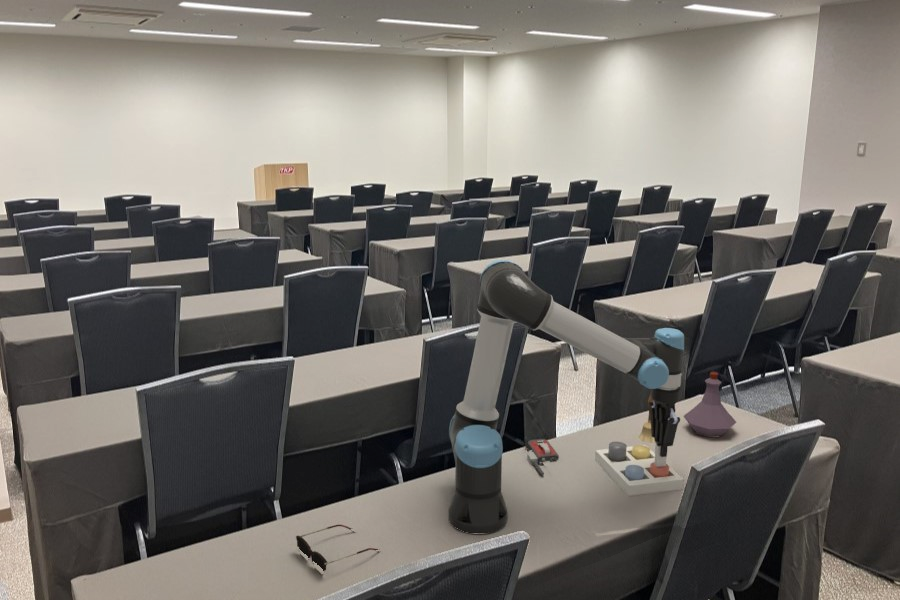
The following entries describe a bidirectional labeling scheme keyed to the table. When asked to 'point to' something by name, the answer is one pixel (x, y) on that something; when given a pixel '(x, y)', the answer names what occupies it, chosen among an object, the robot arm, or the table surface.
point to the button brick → (659, 471)
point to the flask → (710, 411)
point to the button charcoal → (617, 451)
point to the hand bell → (647, 428)
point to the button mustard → (640, 452)
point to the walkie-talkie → (540, 453)
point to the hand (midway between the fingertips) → (660, 465)
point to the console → (638, 486)
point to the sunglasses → (317, 556)
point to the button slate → (634, 472)
